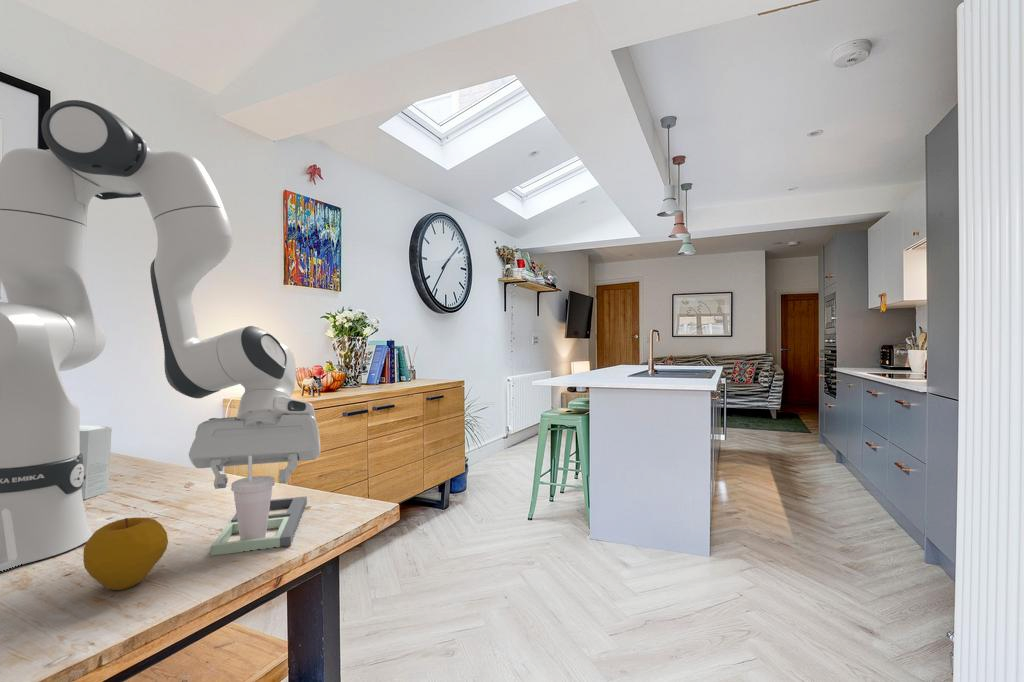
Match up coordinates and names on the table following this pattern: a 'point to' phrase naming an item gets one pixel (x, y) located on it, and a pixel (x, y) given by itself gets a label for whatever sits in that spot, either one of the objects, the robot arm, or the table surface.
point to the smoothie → (252, 503)
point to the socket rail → (282, 521)
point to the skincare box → (95, 459)
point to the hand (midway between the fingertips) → (252, 484)
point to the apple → (124, 551)
